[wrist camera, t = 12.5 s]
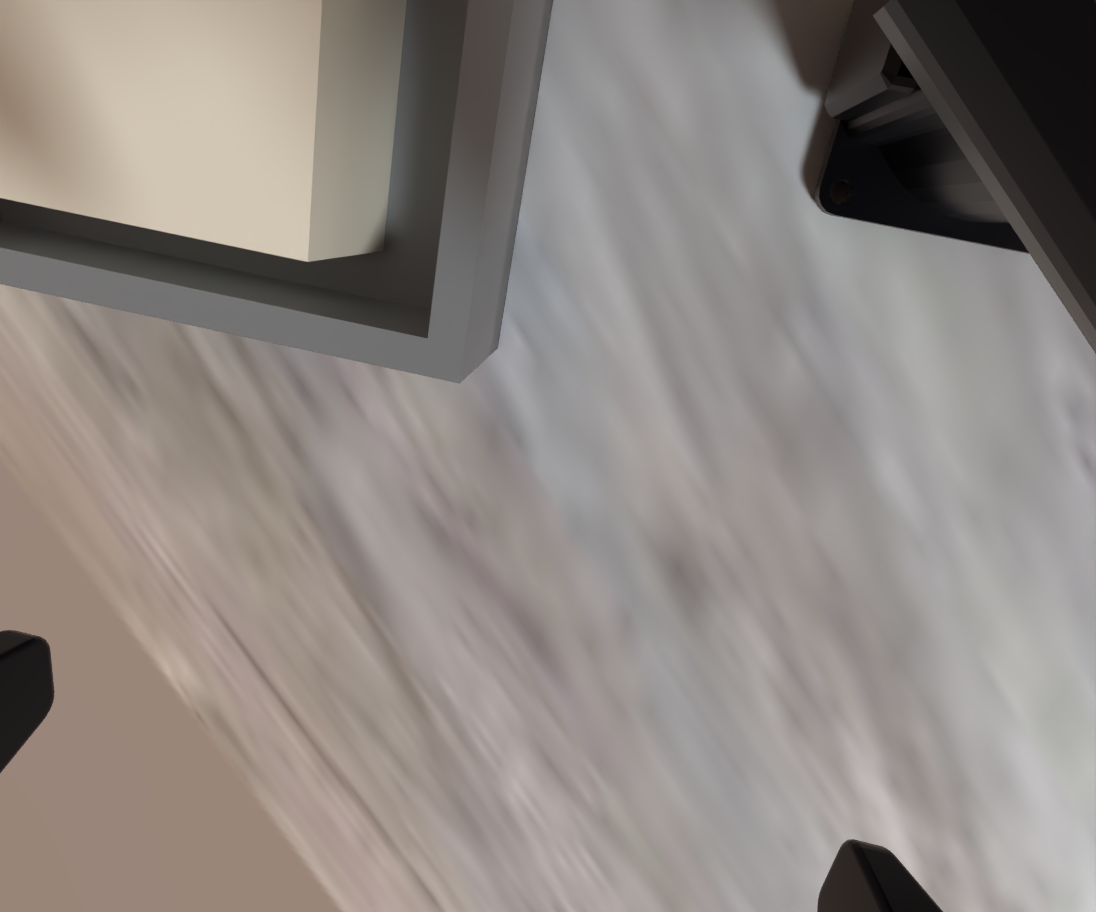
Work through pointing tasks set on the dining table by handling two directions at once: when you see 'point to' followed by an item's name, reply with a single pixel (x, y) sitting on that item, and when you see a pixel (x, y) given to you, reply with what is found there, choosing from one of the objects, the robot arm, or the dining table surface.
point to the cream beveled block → (206, 117)
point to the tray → (359, 280)
